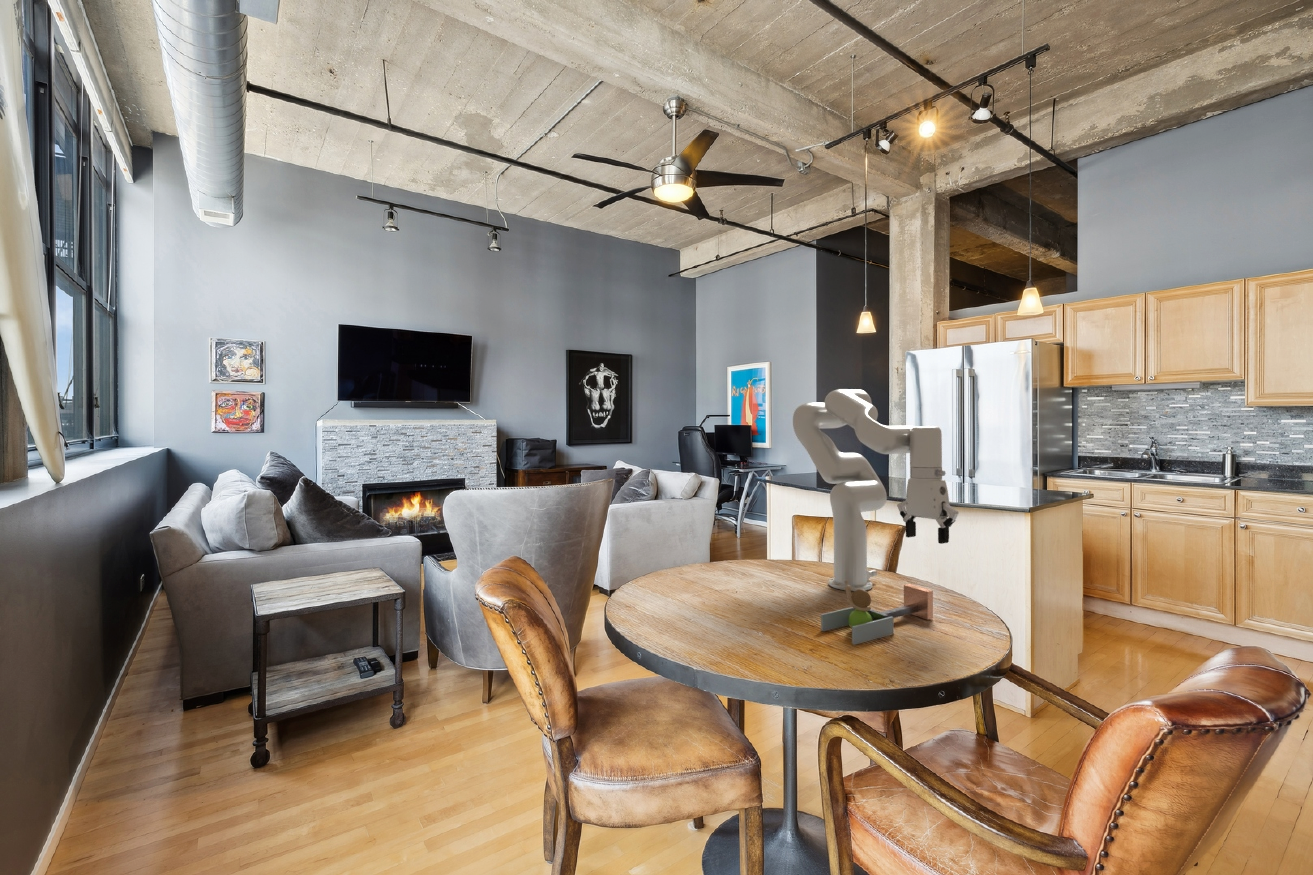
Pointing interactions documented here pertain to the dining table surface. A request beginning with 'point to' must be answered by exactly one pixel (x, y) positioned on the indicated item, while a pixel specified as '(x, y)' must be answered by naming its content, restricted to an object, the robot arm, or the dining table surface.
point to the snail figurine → (858, 606)
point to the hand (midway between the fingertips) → (926, 539)
